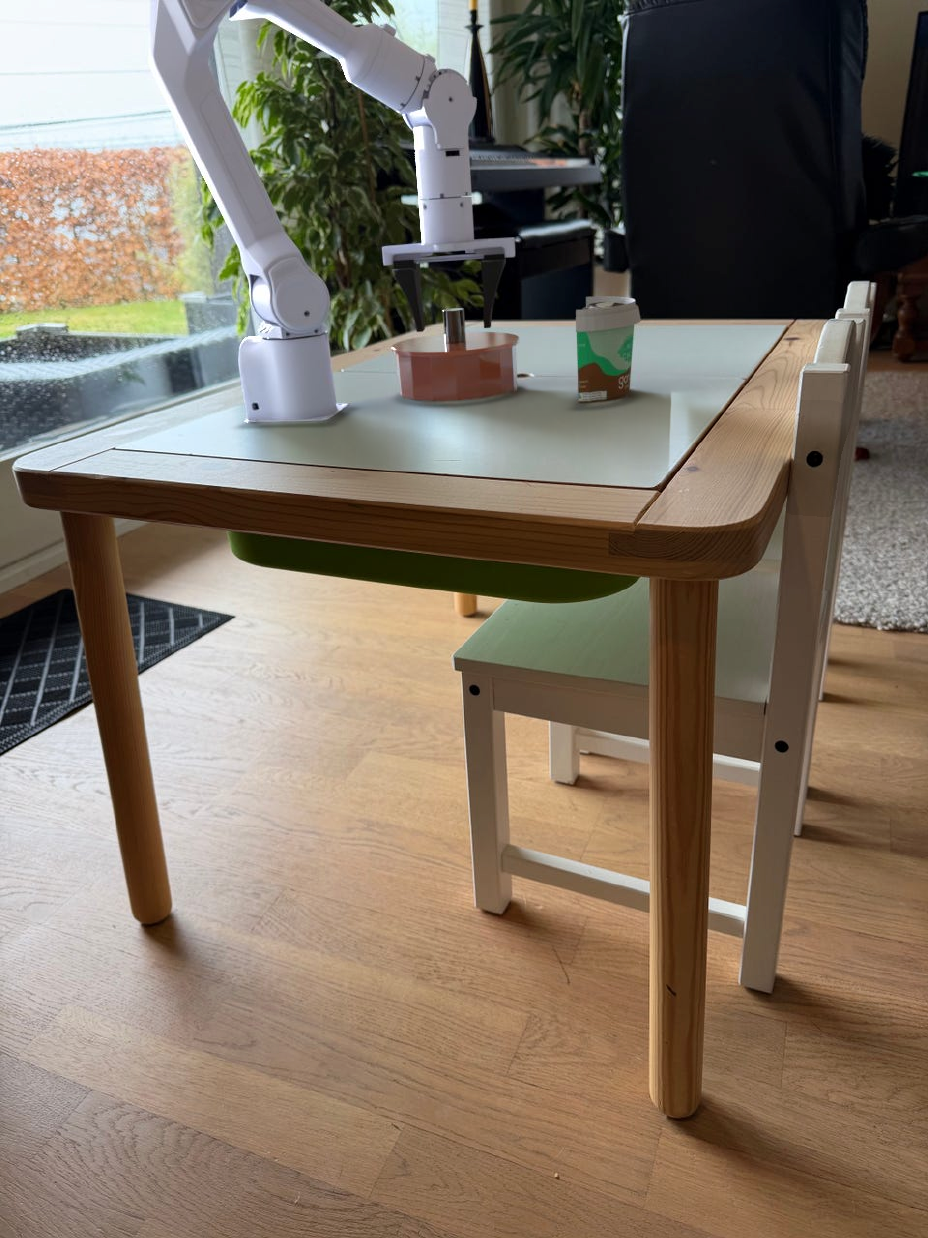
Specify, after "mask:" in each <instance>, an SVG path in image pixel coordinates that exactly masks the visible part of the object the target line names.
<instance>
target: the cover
mask: <svg viewBox="0 0 928 1238" xmlns="http://www.w3.org/2000/svg"><path fill="white" fill-rule="evenodd" d="M442 321H443V322H442V324H443V333H440V334H439V333H437V334H430V335H423V336H418V337H413V338H407V339H404V340H401V341H398V342H396V343H394V344H392V345H391V351H392V353H393V354H395V355H396V354H399V355H404V356H413V357H447V356H462V355H472V354H480V353H487V352H493V351H498V350H503V349H507V348H510V347H513V346H515V345H516V346H517V345H519V344H520V336H518V335H516V334H514V333H510V332H509V333H508V332H500V331H468V332H467V331H466V323H465V322H466V321H465V309H464V308H463V307H455V308H446V309H443V310H442Z"/></svg>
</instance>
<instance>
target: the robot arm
mask: <svg viewBox="0 0 928 1238" xmlns="http://www.w3.org/2000/svg"><path fill="white" fill-rule="evenodd" d="M149 6H150V7H149V24H148V25H149V26H148V50H147V60H148V64H149V67H150V70H151V73H152V74H153V77H154V78H155V81H156V83H157V85H158V87H159V89H160V91H161V93H162V95H163V97H164V99H165V101H166V103H167V106H168V107H169V109H170V111H171V114H172V115H173V117H174V119H175V122H176V124H177V125H178V127H179V130H180V132H181V134H182V137H184V140H185V142H186V145H187V146H188V148H189V150H190V152H191V155H192V156H193V158H194V160H195V162H196V165H197V166H198V169H199V170H200V172H201V175H202V176H203V179H204V180H205V183H206V184H207V187H208V189H209V190H210V191H209V192H211V195H212V196H213V199H214V202H215V203H216V205H217V207H218V209H219V211H220V213H221V216H222V217H223V219H224V221H225V223H226V226H227V227H228V229H229V231H230V234H231V236H232V237H233V239H234V242H235V244H236V246H237V249H238V250H239V255H240V261H241V266H242V270H243V271H244V273H245V276H246V278H247V281H248V285H249V301H250V304H251V307H252V309H253V312H254V313H255V315H256V316H257V317H258V318H259V319H260V320H261V321H262V322H261V323H260V324H261V325H260V327H259V329H258V330H257V331H258V336H257V335H255V336H248V337H244V339H243V340H242V341H241V343H240V345H239V348H238V357H237V360H238V363H237V364H238V371H239V378H240V384H241V390H242V397H243V402H244V409H245V414H246V415H245V416H246V419H245V420H244V423H264V422H270V423H271V422H307V421H308V422H309V421H311V422H312V421H327V420H329V419H331V418H332V417H334V416H335V415H337V414H338V413H340V412H341V411H342V410H344V409H345V408H346V407H348V406H349V405H350V404H349V403H337V397H336V388H335V381H334V380H335V379H334V373H333V364H332V357H331V356H332V355H331V348H330V339H329V331H328V326H327V325H326V324H324V322H325V321H326V319H327V318H328V315H329V312H330V308H331V299H330V298H331V297H330V292H329V289H328V287H327V285H326V282H324V279H322V278H321V277H320V276H319V275H318V274H317V273H316V272H314V271H313V270H312V269H311V268H310V267H309V265H308V264H307V263H306V261H305V258H304V256H303V254H302V252H301V251H300V249H299V248H298V247H297V245H296V244H295V242H293V240H292V239H291V238H290V236H289V234H287V232H286V230H285V228H284V227H283V224H282V222H281V220H280V218H279V216H278V214H277V211H276V209H275V207H274V205H273V202H272V200H271V198H270V196H269V194H268V192H267V190H266V188H265V185H264V184H263V181H262V178H261V176H260V175H259V172H258V170H257V168H256V166H255V164H254V162H253V159H252V157H251V155H250V152H249V151H248V149H247V146H246V145H245V141H244V140H243V137H242V135H241V133H240V131H239V130H238V127H237V124H236V123H235V120H234V119H233V116H232V114H231V112H230V109H229V108H228V105H227V103H226V101H225V98H224V96H223V95H222V92H221V90H220V88H219V86H218V83H217V81H216V79H215V77H214V74H213V72H212V70H211V68H210V66H209V58H210V56H211V52H212V50H213V46H214V43H215V40H216V38H217V34H218V31H219V26H220V24H221V23H222V21H223V20H224V18H225V16H227V14H228V13H229V17H228V18H229V20H230V21H239V20H251V19H261V18H262V19H267V20H269V21H270V22H272V23H274V24H275V25H277V26H279V27H281V28H282V29H284V30H286V31H288V32H290V33H292V34H293V35H295V36H297V37H299V38H300V39H302V40H303V41H306V42H307V43H309V44H311V45H312V46H314V47H316V48H318V49H320V50H321V51H322V52H325V53H326V54H328V55H330V56H331V57H334V59H337V60H338V61H339V62H340V64H341V66H342V70H343V72H344V75H345V78H346V80H347V81H348V83H350V84H352V85H353V86H355V87H357V88H358V89H360V90H361V91H363V92H364V93H367V95H369V96H371V97H372V98H374V99H376V100H377V101H379V102H380V103H382V104H384V105H385V106H387V107H389V108H390V109H392V110H393V111H395V112H396V113H398V114H399V115H402V116H403V119H404V121H405V123H406V125H407V126H408V127H409V129H410V130H411V131H412V132H413V139H414V150H415V152H414V154H415V155H414V156H415V157H414V158H415V166H416V168H415V169H416V180H417V181H416V182H417V192H418V193H417V194H418V208H419V219H420V232H421V242H418V243H417V242H416V243H407V244H395V245H393V244H392V245H385V246H382V247H381V251H382V263H383V266H392V267H393V269H392V270H391V271H392V274H393V277H394V278H395V280H396V282H397V283H398V285H399V288H400V289H401V292H402V293H403V296H404V297H405V300H406V302H407V304H408V306H409V309H410V312H411V314H412V318H413V321H414V326H415V331H416V333H423V332H424V331H425V330H426V323H425V314H424V307H423V300H422V280H421V263H433V262H434V263H435V262H436V263H437V262H448V261H449V262H452V261H465V260H467V261H468V260H480V259H481V262H480V269H481V280H482V292H483V315H482V317H483V318H482V319H483V329H490V328H491V327H492V320H493V319H492V317H493V309H494V305H495V304H494V302H495V298H496V295H497V291H498V287H499V283H500V280H501V277H502V274H503V271H504V268H505V266H506V263H507V259H506V258H515V257H516V241H515V240H516V239H515V237H498V238H497V237H495V238H478V239H476V238H475V233H474V231H475V230H474V213H473V198H472V197H473V196H472V181H471V180H472V179H471V163H470V146H469V131H468V130H469V126H470V124H471V122H472V120H473V119H474V116H475V115H476V110H477V105H478V104H477V103H478V102H477V101H478V99H477V97H475V96H473V92H472V88H471V86H470V85H469V84H468V80H467V79H466V78H465V76H464V75H462V74H461V73H460V72H459V71H457V70H455V69H452V68H449V67H448V68H440V69H438V68H437V66H436V64H435V63H436V58H435V57H434V56H432V55H431V54H430V53H427V54H424V55H423V54H421V53H420V52H418V51H417V50H415V49H414V48H412V47H411V46H409V45H408V44H406V43H405V42H403V41H402V40H400V39H399V38H397V37H396V34H397V29H395V27H393V26H391V25H390V24H388V23H384V24H382V25H380V26H379V25H378V24H377V23H375V22H369V23H366V24H363V25H361V26H355V25H354V24H352V23H351V22H350V21H349V20H347V19H346V18H345V17H343V16H342V15H340V14H339V13H338V12H336V11H335V10H334V9H332V8H331V7H330V6H328V5H327V4H326V3H324V2H323V1H322V0H149ZM460 251H464V252H465V254H453V255H452V254H451V255H437V256H433V255H434V253H446V252H447V253H448V252H460Z"/></svg>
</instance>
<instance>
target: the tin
mask: <svg viewBox="0 0 928 1238" xmlns="http://www.w3.org/2000/svg"><path fill="white" fill-rule="evenodd" d="M517 361H518V360H517V345H515V346H513V347H510V348H507V349H503V350H498V351H493V352H487V353H480V354H472V355H462V356H447V357H413V356H404V355H399V354H395V363H396V374H397V380H398V381H397V382H398V383H397V384H398V393H399V395H400V396H401V398H405V399H408V400H412V401H422V402H423V401H424V402H459V401H468V400H478V399H484V398H490V397H495V396H499V395H504V394H506V393H515V392H517V391H518V385H519V384H518V363H517Z"/></svg>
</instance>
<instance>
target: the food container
mask: <svg viewBox="0 0 928 1238" xmlns="http://www.w3.org/2000/svg"><path fill="white" fill-rule="evenodd" d="M575 316H576V317H575V333H576V357H577V359H576V360H577V388H578V389H577V390H578V391H577V393H578V395H577V396H578V404H593V403H594V404H595V403H603V402H608V401H614V400H615V401H616V400H618V399H622V398H625V397H627V396H628V395H630V392H631V391H630V390H631V378H632V377H631V375H632V363H633V349H634V335H635V325H638V324H639V323H641V315H640V309H639V305H637V304H636V299H635V298H632V297H629V296H628V297H627V296H616V295H615V296H613V295H612V296H611V295H610V296H609V295H608V296H607V295H604V296H603V295H602V296H599V295H597V296H585V307H582V309H576V310H575Z"/></svg>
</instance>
